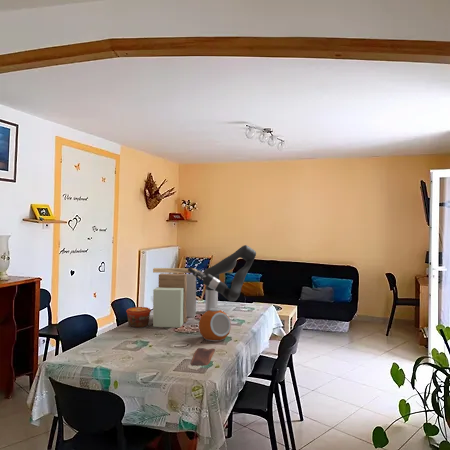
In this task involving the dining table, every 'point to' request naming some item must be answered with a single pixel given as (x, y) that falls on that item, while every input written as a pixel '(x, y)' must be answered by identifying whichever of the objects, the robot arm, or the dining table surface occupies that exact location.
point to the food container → (138, 317)
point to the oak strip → (171, 270)
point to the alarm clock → (214, 325)
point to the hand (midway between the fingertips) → (189, 268)
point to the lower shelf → (167, 307)
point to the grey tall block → (191, 296)
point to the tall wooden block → (175, 286)
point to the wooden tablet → (202, 356)
